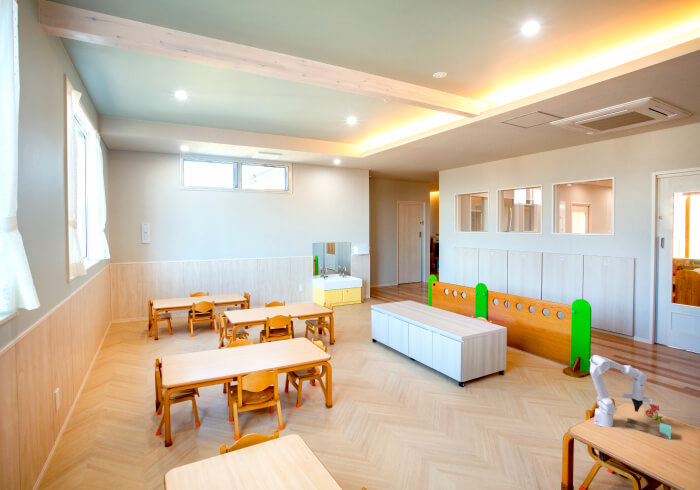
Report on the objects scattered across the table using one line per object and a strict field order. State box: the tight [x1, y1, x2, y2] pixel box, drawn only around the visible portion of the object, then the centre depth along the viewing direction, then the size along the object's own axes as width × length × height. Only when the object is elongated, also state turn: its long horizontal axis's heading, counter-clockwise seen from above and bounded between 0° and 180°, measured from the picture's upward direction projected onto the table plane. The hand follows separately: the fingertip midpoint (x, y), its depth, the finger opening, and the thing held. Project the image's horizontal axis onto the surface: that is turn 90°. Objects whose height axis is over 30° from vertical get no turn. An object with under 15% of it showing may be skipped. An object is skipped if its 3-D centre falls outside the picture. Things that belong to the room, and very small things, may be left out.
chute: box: [625, 417, 667, 440], centre depth 219 cm, size 19×7×4 cm, turn 48°
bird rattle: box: [643, 403, 664, 423], centre depth 231 cm, size 6×11×9 cm
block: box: [659, 422, 672, 440], centre depth 213 cm, size 5×5×6 cm
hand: (636, 410), depth 225 cm, fingers closed
